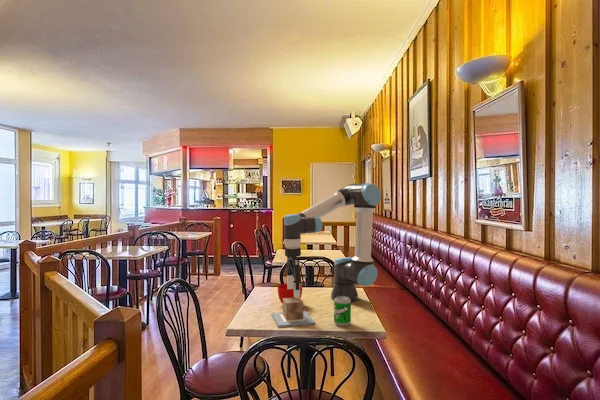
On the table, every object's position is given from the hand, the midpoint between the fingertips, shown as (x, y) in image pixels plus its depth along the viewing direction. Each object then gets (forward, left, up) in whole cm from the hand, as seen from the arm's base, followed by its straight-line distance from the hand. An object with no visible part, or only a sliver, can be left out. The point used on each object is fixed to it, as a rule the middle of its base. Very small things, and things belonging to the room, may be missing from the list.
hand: (293, 292), depth 171 cm
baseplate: (0, 0, -13) cm, 13 cm away
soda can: (-20, +11, -13) cm, 26 cm away
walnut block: (0, 0, -11) cm, 11 cm away
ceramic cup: (-4, -24, -13) cm, 27 cm away
